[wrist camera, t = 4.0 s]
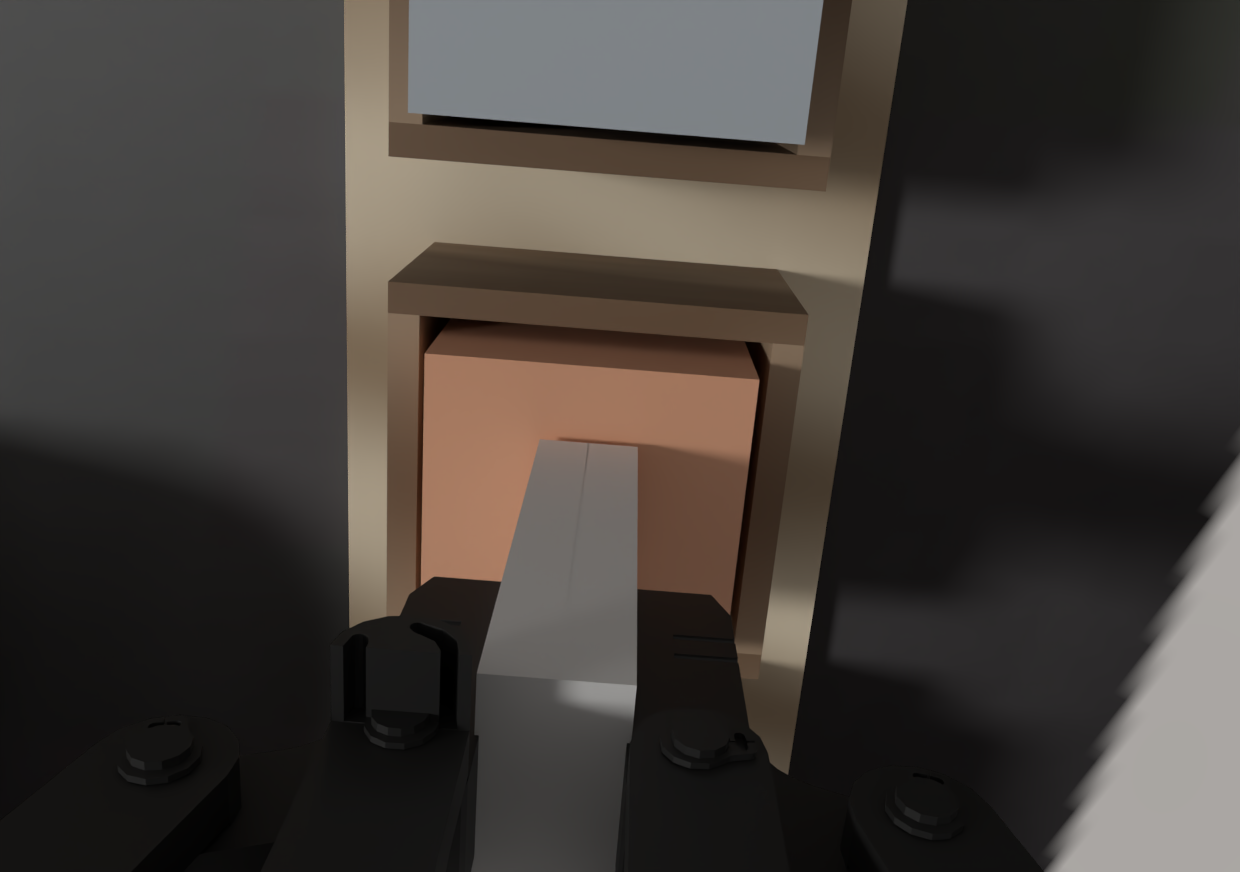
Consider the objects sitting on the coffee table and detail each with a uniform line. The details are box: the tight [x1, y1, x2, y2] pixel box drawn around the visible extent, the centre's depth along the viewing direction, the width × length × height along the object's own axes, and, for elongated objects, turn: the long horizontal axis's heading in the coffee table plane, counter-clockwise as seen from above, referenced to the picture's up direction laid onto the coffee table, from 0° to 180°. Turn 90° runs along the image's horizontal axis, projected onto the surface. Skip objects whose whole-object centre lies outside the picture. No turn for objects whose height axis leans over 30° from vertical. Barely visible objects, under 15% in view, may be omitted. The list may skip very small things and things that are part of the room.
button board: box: [344, 0, 908, 775], centre depth 20 cm, size 26×10×4 cm, turn 176°
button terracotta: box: [421, 318, 759, 615], centre depth 18 cm, size 5×5×4 cm
